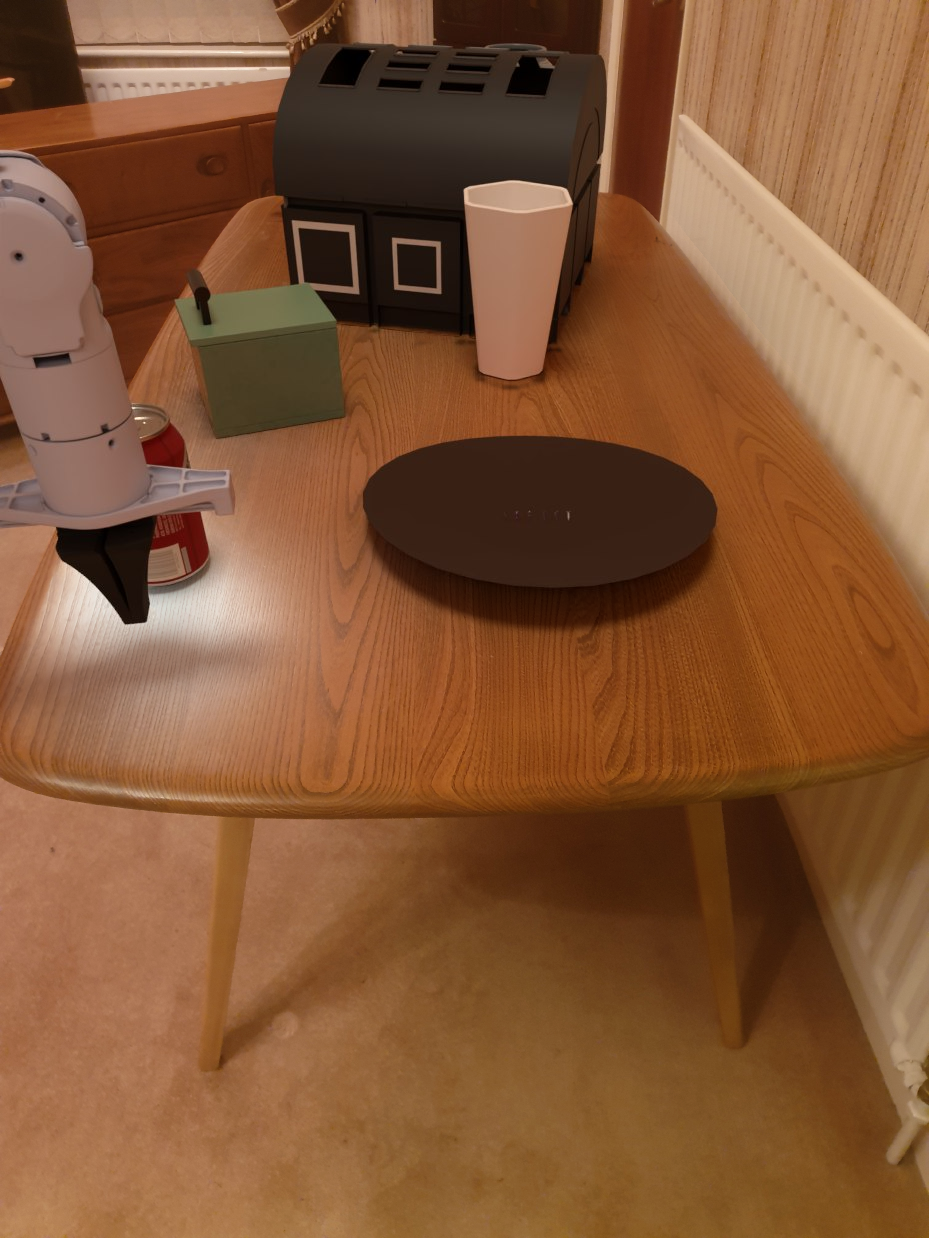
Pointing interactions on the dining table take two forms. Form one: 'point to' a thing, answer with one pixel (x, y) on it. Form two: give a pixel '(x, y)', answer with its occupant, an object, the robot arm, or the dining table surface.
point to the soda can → (175, 535)
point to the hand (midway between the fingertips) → (137, 613)
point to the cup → (515, 271)
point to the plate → (540, 510)
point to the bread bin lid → (249, 312)
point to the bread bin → (270, 381)
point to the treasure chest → (427, 171)
